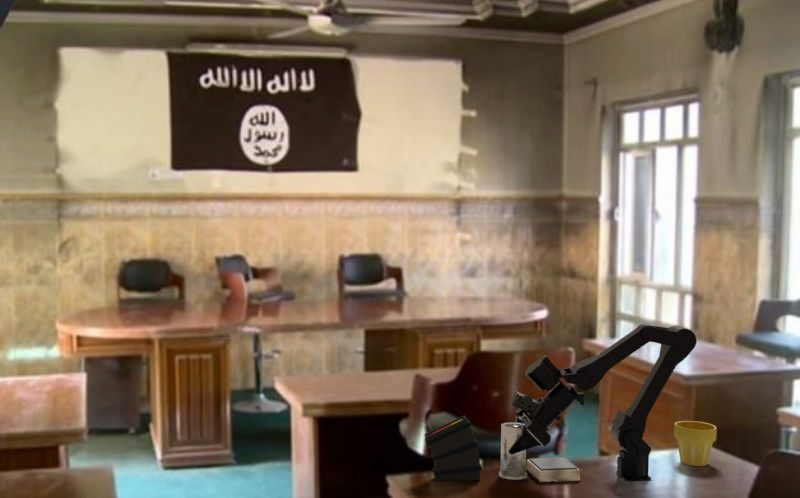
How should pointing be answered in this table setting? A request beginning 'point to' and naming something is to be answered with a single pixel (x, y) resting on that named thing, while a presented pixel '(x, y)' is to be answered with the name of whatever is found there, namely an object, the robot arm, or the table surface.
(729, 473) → the table surface
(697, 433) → the plant pot
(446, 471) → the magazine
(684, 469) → the table surface
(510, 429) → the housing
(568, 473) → the stand
